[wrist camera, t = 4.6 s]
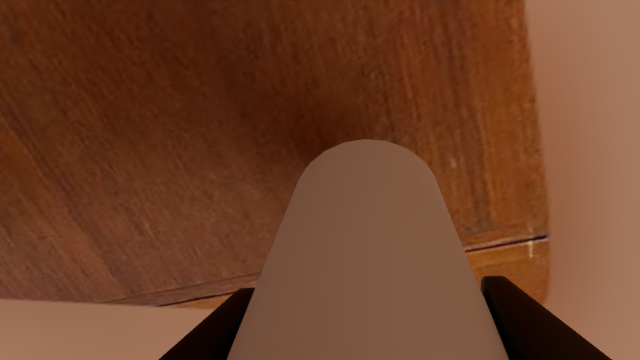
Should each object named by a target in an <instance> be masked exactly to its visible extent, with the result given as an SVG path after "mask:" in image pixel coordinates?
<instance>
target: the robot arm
mask: <svg viewBox="0 0 640 360" xmlns="http://www.w3.org/2000/svg"><path fill="white" fill-rule="evenodd" d="M254 290H255V288H241V289H239V290H237V291H236V292H235V293H234V294H233V295H232V296H230V297H229V298H228V299H227V300H226V301H225V302H224V303H222V304H221V305H220V306H219V307H218V308H217V309H216V310H214V311H213V312H212V313H211V314H210V315H209V316H208V317H206V318H205V319H204V320H203V321H202V322H201V323H200V324H199V325H197V326H196V327H195V328H194V329H193V330H192V331H191V332H190V333H188V334H187V335H186V336H185V337H184V338H183V339H181V340H180V341H179V342H178V343H177V344H176V345H175V346H174V347H172V348H171V349H170V350H169V351H168V352H167V353H166V354H164V355H163V356H162V357H161V358H160V359H159V360H227V358H228V355H229V353H230V350H231V348H232V345H233V343H234V340H235V338H236V335H237V333H238V330H239V328H240V325H241V323H242V320H243V318H244V315H245V313H246V310H247V308H248V305H249V303H250V300H251V298H252V295H253V293H254ZM481 292H482V294H483V296H484V299H485V301H486V304H487V306H488V308H489V311H490V313H491V315H492V318H493V320H494V323H495V325H496V327H497V330H498V332H499V335H500V337H501V340H502V342H503V345H504V347H505V350H506V352H507V355H508V357H509V360H612V359H610V358H609V357H608V356H606V355H605V354H604V353H603V352H601V351H600V350H599V349H597V348H596V347H595V346H594V345H592V344H591V343H589V342H588V341H587V340H586V339H584V338H583V337H582V336H581V335H579V334H578V333H577V332H575V331H574V330H573V329H572V328H570V327H569V326H568V325H566V324H565V323H564V322H562V321H561V320H560V319H559V318H557V317H556V316H555V315H553V314H552V313H551V312H550V311H548V310H547V309H546V308H544V307H543V306H542V305H541V304H539V303H538V302H537V301H535V300H534V299H533V298H531V297H530V296H529V295H528V294H526V293H525V292H524V291H522V290H521V289H520V288H519V287H517V286H516V285H515V284H513V283H512V282H511V281H510V280H508V279H507V278H505V277H504V276H485V277H483V278H482V280H481Z"/></svg>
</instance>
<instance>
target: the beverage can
mask: <svg viewBox="0 0 640 360" xmlns="http://www.w3.org/2000/svg"><path fill="white" fill-rule="evenodd" d="M227 360H509V357H508V355H507V352H506V350H505V347H504V345H503V342H502V340H501V337H500V335H499V332H498V330H497V327H496V325H495V323H494V320H493V318H492V315H491V313H490V311H489V308H488V306H487V304H486V301H485V299H484V296H483V294H482V292H481V289H480V287H479V285H478V282H477V280H476V277H475V275H474V273H473V270H472V268H471V266H470V263H469V261H468V258H467V256H466V254H465V251H464V249H463V246H462V244H461V242H460V239H459V237H458V234H457V232H456V230H455V227H454V225H453V222H452V220H451V217H450V215H449V212H448V210H447V207H446V205H445V202H444V199H443V197H442V194H441V192H440V189H439V186H438V184H437V181H436V178H435V176H434V174H433V173H432V172H431V170H430V169H429V167H428V166H427V165H426V163H425V162H424V161H423V159H421V158H420V157H418V156H417V155H416V154H414V153H413V152H411V151H410V150H408V149H407V148H405V147H402V146H400V145H397V144H394V143H391V142H388V141H383V140H370V139H362V140H356V141H350V142H344V143H341V144H339V145H337V146H335V147H333V148H330V149H328V150H326V151H324V152H323V153H322V154H320V155H319V156H318V157H317V158H316V159H314V160H313V161H312V162H311V163H309V165H308V166H307V168H306V169H305V171H304V172H303V174H302V175H301V177H300V178H299V180H298V183H297V185H296V188H295V190H294V193H293V195H292V198H291V200H290V203H289V205H288V208H287V210H286V213H285V215H284V218H283V220H282V223H281V225H280V228H279V230H278V233H277V235H276V238H275V240H274V243H273V245H272V248H271V250H270V253H269V255H268V258H267V260H266V263H265V265H264V268H263V270H262V273H261V275H260V278H259V280H258V283H257V285H256V288H255V290H254V293H253V295H252V298H251V300H250V303H249V305H248V308H247V310H246V313H245V315H244V318H243V320H242V323H241V325H240V328H239V330H238V333H237V335H236V338H235V340H234V343H233V345H232V348H231V350H230V353H229V355H228V358H227Z"/></svg>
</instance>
